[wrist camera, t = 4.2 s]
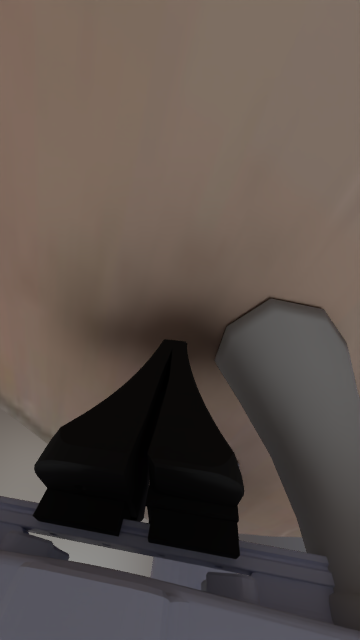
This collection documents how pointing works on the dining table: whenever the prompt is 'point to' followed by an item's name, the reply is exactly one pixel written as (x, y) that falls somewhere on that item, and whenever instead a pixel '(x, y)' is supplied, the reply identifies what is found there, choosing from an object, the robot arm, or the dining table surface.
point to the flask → (305, 428)
